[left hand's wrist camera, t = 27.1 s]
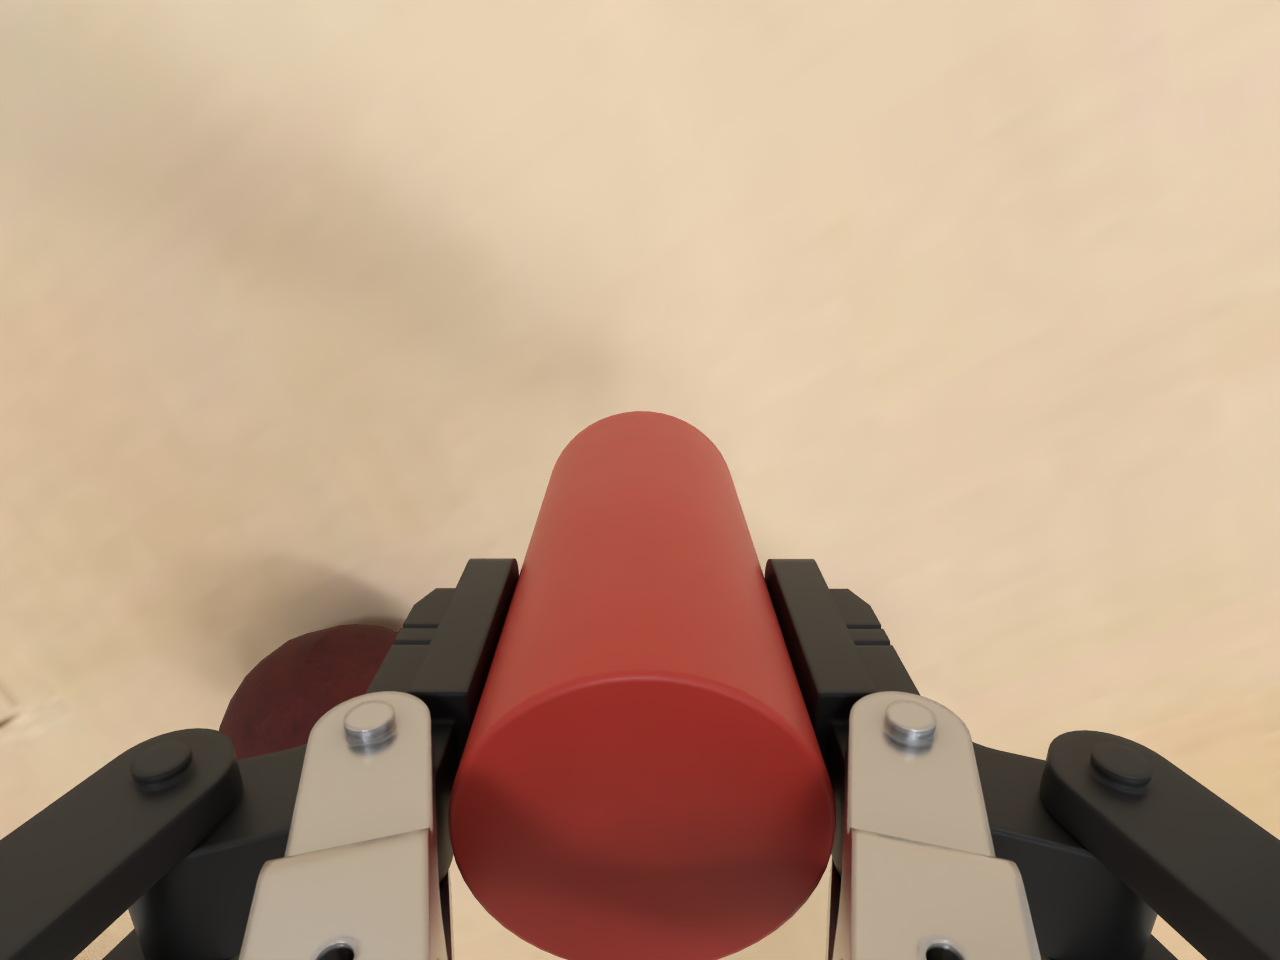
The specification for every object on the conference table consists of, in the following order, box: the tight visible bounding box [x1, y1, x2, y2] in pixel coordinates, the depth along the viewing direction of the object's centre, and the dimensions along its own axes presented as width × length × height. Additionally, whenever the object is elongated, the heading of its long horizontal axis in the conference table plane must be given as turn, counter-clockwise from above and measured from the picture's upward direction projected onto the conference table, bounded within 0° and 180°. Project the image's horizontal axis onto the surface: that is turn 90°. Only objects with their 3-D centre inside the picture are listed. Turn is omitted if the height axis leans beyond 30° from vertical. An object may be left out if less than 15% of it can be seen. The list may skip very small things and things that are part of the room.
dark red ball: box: [219, 625, 398, 760], centre depth 27 cm, size 7×8×7 cm
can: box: [448, 411, 836, 960], centre depth 12 cm, size 4×4×9 cm
